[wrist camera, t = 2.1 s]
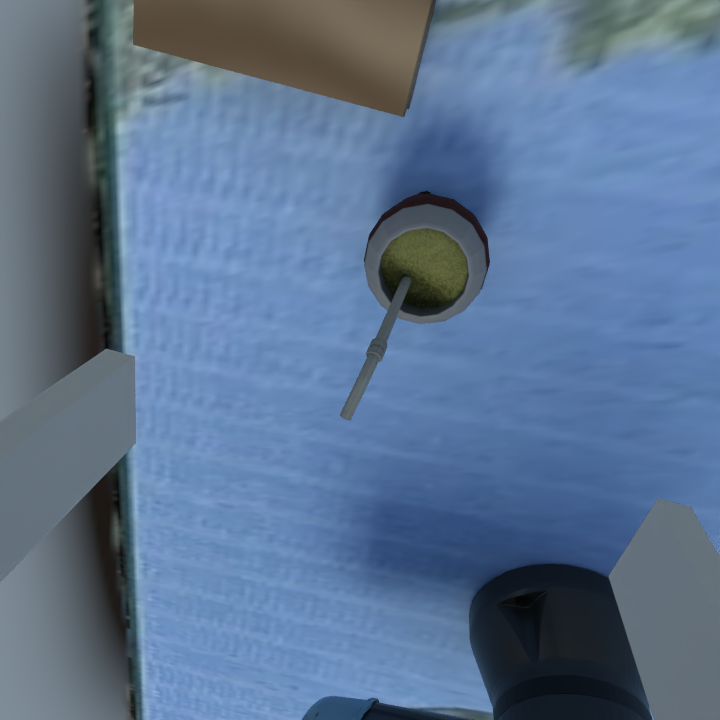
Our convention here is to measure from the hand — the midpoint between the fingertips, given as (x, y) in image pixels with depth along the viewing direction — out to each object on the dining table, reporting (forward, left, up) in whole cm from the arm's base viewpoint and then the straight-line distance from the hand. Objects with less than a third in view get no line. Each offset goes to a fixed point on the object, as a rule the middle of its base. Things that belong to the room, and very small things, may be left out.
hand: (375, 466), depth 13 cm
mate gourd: (0, 0, -24) cm, 24 cm away
